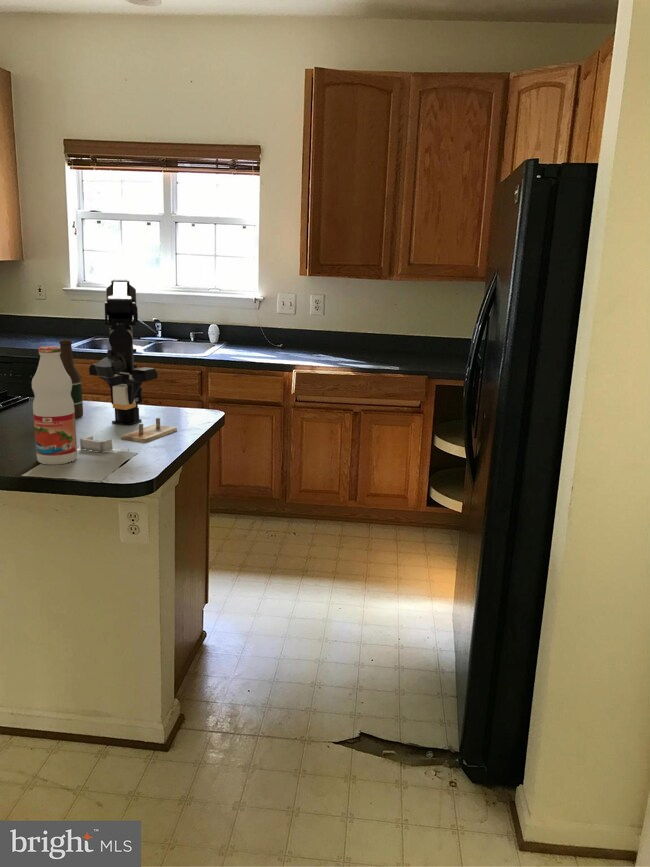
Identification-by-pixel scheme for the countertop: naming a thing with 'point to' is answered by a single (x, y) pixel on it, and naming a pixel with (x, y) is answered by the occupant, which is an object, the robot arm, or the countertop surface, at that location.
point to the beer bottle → (72, 375)
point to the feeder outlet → (95, 444)
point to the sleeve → (121, 397)
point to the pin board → (149, 432)
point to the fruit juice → (53, 410)
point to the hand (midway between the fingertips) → (124, 403)
